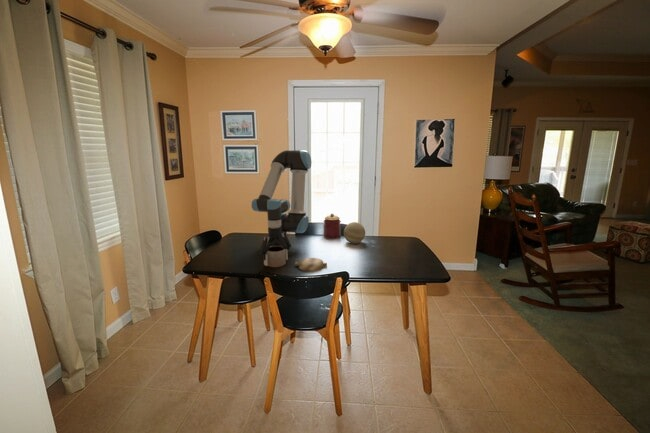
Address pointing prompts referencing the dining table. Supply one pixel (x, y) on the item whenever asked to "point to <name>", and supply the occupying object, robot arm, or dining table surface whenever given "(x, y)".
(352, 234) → the decorative ball
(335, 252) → the dining table surface
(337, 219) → the canister
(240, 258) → the dining table surface
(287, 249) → the robot arm
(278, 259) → the planter
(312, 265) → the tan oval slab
